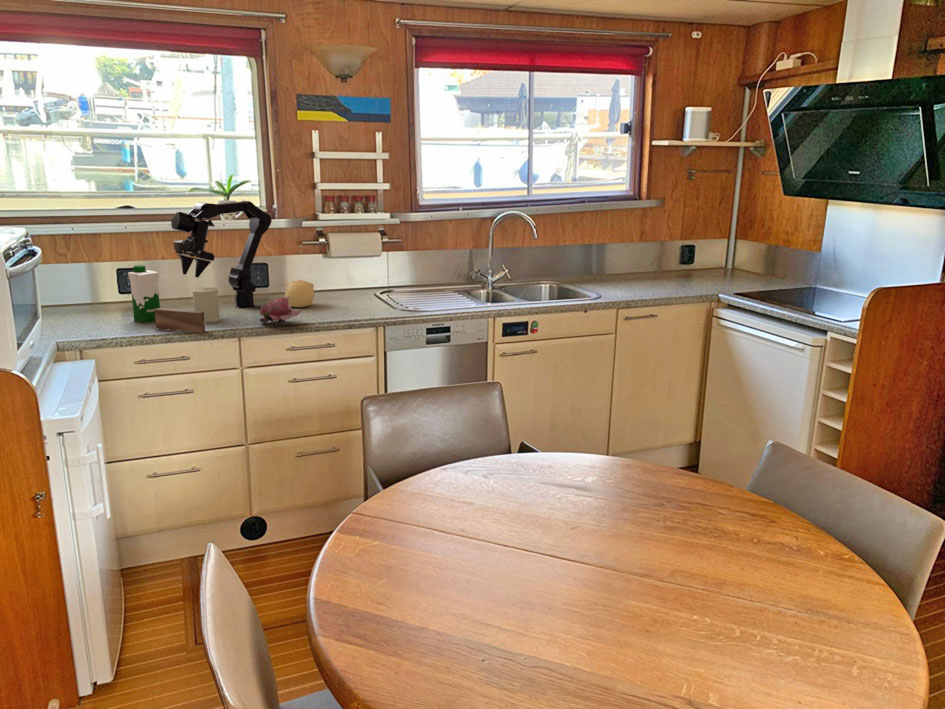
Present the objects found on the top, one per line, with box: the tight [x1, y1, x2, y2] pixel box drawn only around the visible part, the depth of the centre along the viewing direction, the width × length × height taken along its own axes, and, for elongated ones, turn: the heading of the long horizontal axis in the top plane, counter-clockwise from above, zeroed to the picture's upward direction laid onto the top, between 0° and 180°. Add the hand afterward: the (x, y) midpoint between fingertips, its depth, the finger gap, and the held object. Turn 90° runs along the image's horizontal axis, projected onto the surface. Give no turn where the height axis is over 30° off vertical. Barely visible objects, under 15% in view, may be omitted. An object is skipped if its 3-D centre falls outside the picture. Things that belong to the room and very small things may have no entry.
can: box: [192, 287, 221, 323], centre depth 285 cm, size 9×9×12 cm
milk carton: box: [127, 264, 161, 324], centre depth 282 cm, size 9×9×20 cm
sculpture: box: [284, 279, 315, 308], centre depth 312 cm, size 12×12×11 cm
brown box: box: [154, 307, 206, 333], centre depth 270 cm, size 3×18×7 cm, turn 76°
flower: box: [259, 296, 302, 327], centre depth 280 cm, size 15×15×10 cm
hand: (190, 275), depth 291 cm, fingers open, 9 cm apart
